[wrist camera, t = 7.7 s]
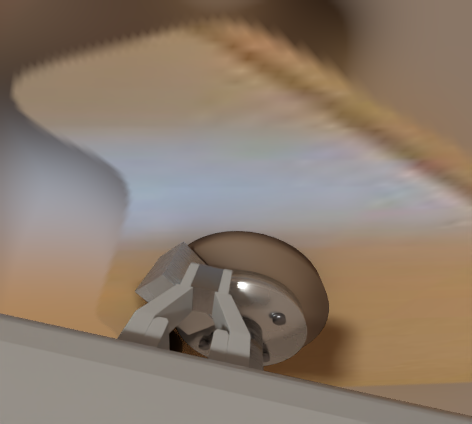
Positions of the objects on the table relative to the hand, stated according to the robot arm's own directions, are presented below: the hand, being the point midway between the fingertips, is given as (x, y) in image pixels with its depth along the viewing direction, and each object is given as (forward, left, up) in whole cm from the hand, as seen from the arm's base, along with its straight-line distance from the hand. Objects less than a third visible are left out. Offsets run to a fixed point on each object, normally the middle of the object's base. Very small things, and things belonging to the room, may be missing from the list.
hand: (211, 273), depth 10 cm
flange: (-3, -4, -2) cm, 6 cm away
